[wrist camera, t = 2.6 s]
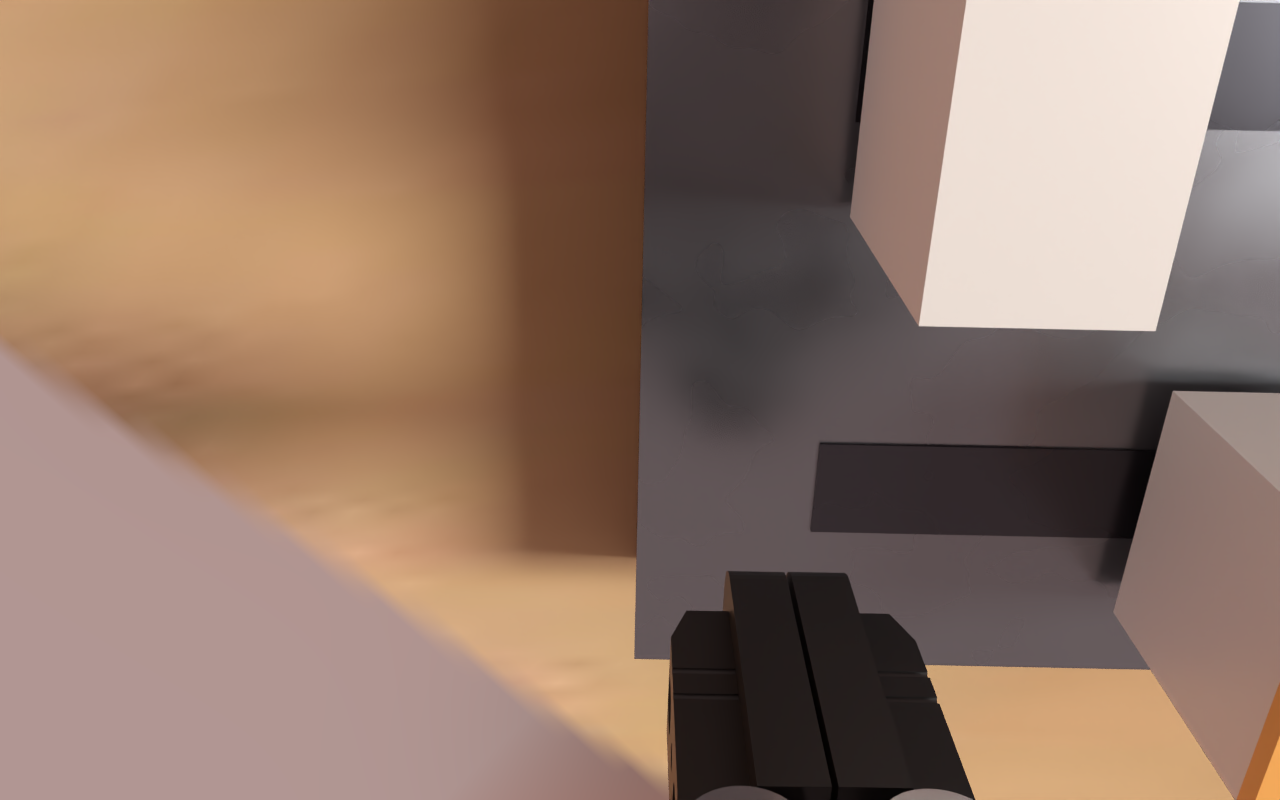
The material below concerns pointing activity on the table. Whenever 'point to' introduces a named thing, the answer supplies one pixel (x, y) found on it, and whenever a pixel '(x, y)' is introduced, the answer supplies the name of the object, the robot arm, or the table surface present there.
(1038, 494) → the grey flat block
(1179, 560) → the block
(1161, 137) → the handle
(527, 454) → the table surface
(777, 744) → the robot arm
